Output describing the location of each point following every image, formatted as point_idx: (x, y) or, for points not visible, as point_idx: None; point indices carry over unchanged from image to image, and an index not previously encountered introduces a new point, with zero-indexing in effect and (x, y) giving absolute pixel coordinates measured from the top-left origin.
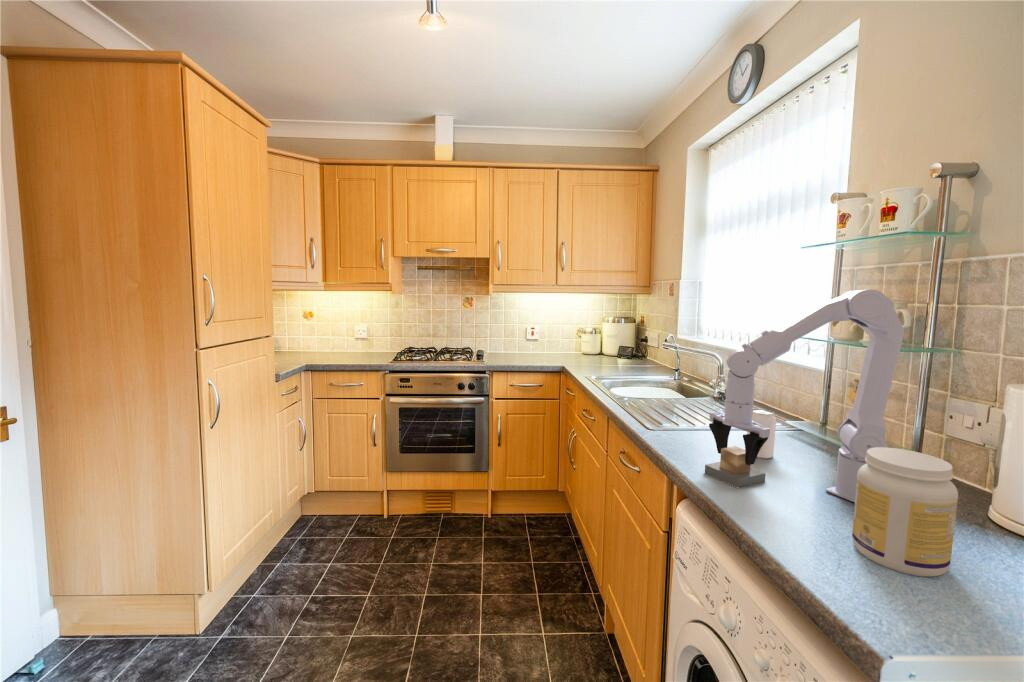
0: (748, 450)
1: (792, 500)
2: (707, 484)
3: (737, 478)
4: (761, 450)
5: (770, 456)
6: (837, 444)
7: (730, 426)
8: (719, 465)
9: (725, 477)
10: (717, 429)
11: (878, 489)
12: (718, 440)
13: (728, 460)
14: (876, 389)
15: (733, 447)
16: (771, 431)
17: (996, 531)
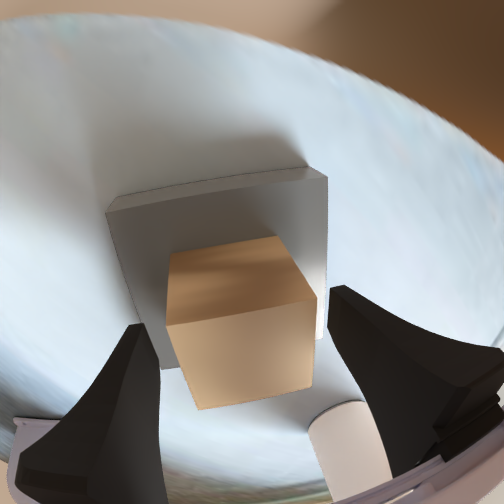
0: (93, 391)
1: (23, 319)
2: (186, 78)
3: (116, 220)
4: (326, 433)
5: (308, 433)
6: (300, 496)
7: (393, 464)
8: (292, 244)
9: (181, 190)
10: (435, 388)
11: None
12: (379, 331)
13: (232, 273)
14: None
15: (299, 373)
16: (332, 492)
17: (4, 459)
